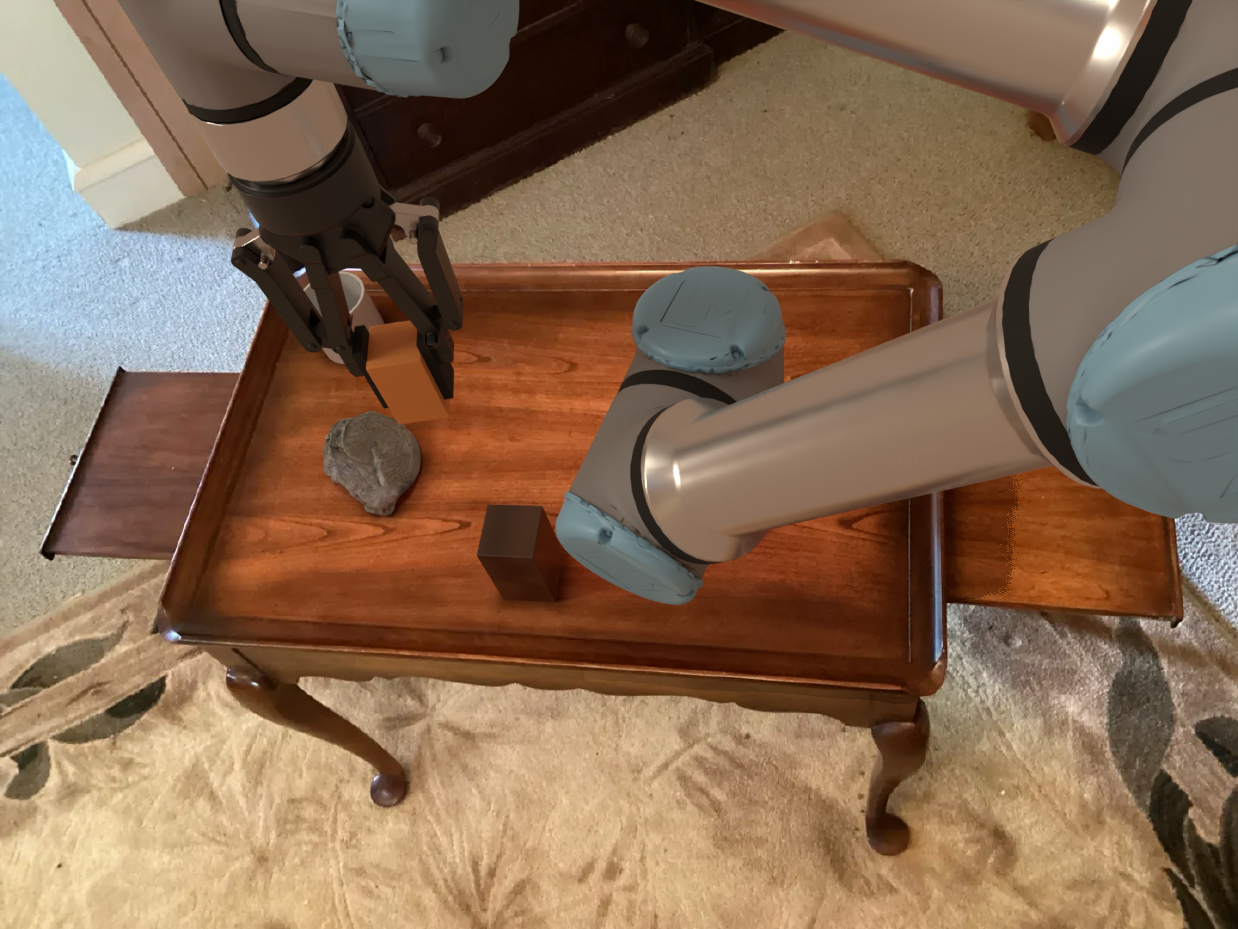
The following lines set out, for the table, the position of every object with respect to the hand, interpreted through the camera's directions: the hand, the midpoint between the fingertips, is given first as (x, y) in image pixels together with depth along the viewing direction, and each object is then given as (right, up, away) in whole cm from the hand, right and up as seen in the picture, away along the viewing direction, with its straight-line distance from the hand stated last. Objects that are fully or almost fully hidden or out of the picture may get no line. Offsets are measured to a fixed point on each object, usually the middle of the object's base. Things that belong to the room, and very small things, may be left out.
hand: (419, 388), depth 74 cm
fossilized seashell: (-10, -6, +25) cm, 28 cm away
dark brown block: (+7, -16, +16) cm, 24 cm away
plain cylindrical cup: (-15, +8, +35) cm, 39 cm away
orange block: (0, -1, +1) cm, 1 cm away
